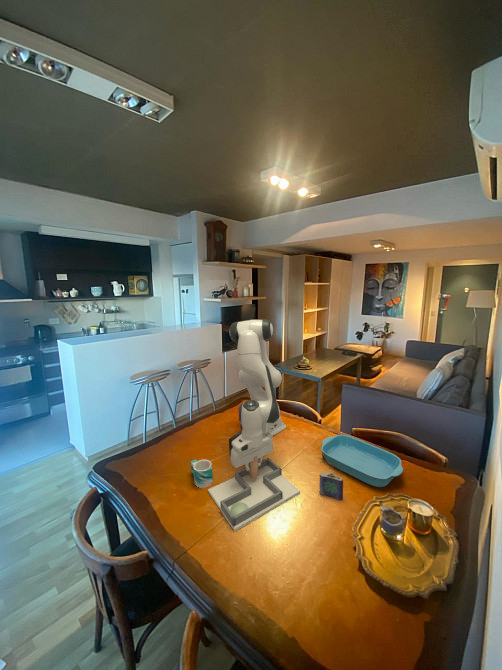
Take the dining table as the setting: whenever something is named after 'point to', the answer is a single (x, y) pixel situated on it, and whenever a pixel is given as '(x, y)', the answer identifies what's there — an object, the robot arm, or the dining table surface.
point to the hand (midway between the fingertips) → (253, 467)
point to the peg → (253, 468)
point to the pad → (238, 508)
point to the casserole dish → (361, 459)
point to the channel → (253, 493)
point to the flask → (331, 486)
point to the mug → (202, 473)
